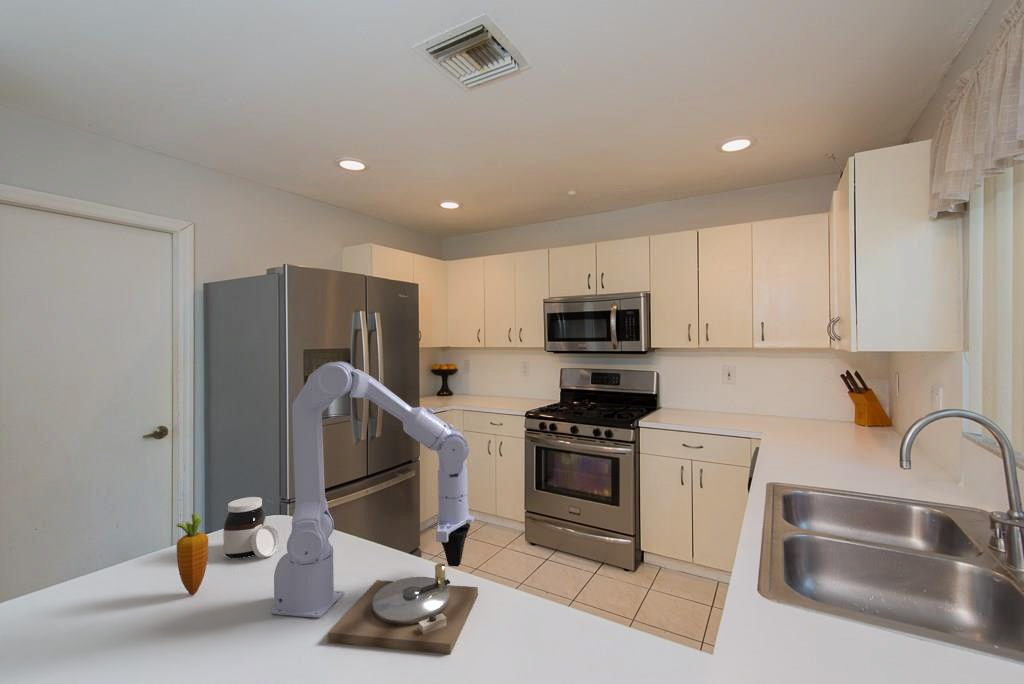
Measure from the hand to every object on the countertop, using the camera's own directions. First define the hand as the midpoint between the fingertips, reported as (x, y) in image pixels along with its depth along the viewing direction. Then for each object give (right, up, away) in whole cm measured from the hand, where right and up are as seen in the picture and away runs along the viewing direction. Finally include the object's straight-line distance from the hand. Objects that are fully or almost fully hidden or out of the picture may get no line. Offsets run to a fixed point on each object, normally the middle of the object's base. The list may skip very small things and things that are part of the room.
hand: (454, 564), depth 88 cm
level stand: (-6, -4, -10) cm, 13 cm away
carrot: (-50, -5, -1) cm, 50 cm away
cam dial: (-6, -2, -9) cm, 11 cm away
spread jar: (-48, -6, +17) cm, 52 cm away
